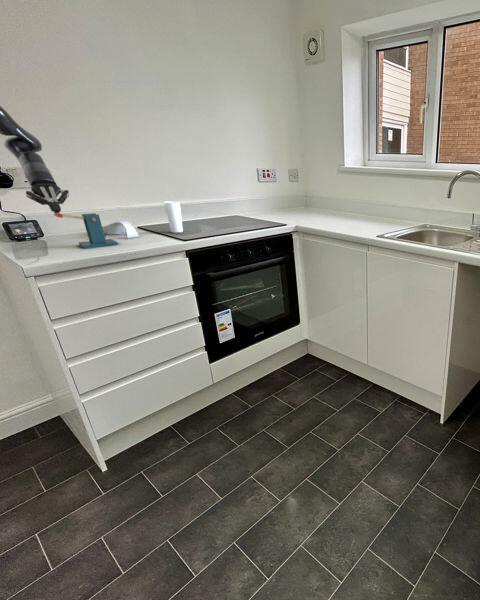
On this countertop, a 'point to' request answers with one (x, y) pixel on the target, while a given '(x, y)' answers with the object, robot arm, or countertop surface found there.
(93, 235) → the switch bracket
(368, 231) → the countertop surface
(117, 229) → the white rounded block
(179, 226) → the drinking glass
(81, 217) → the switch lever
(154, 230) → the countertop surface
